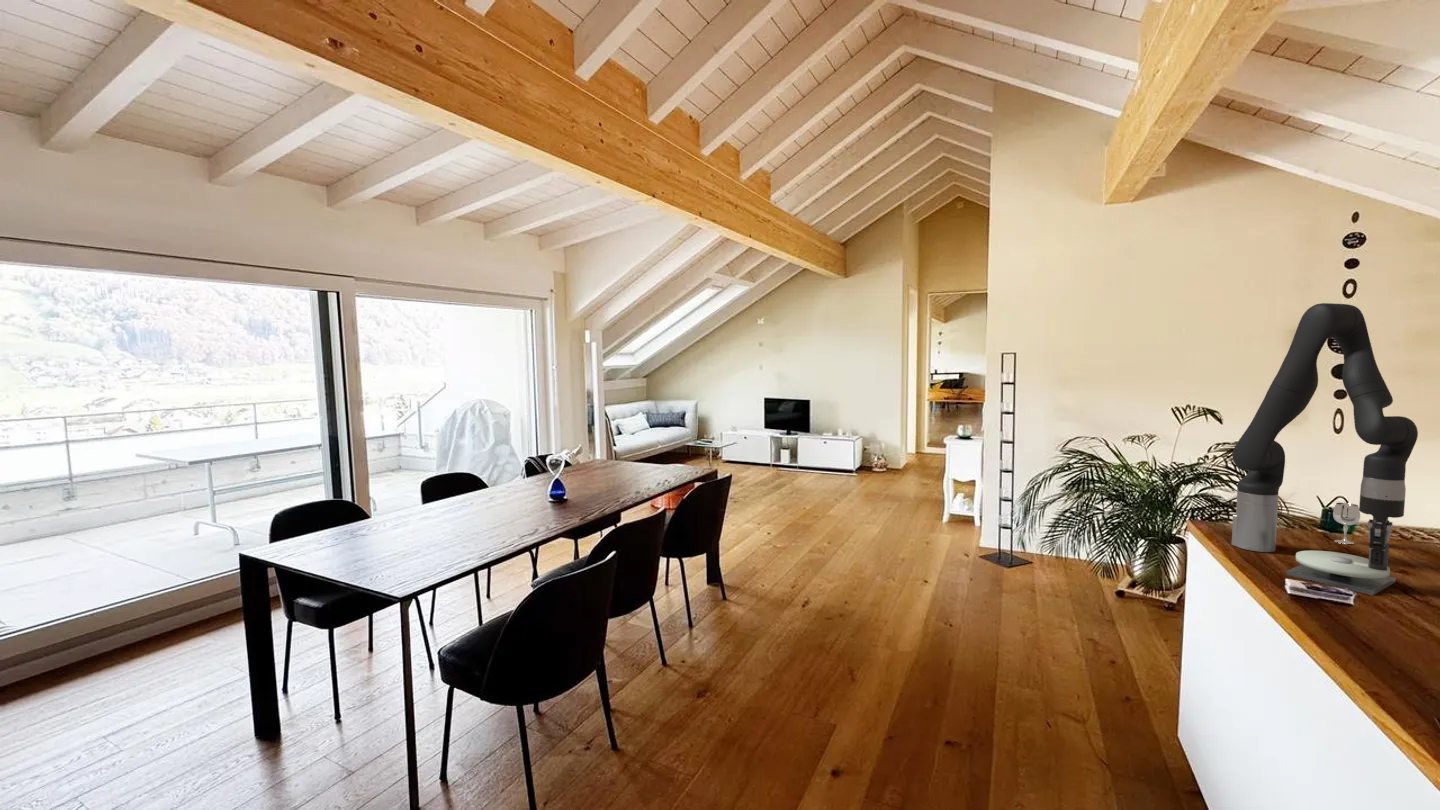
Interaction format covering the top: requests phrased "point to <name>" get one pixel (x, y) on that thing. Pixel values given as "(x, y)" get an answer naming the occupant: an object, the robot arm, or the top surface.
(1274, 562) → the top surface
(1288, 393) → the robot arm
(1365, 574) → the handwheel
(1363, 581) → the wheel stand
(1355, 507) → the wineglass
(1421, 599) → the top surface
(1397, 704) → the top surface
